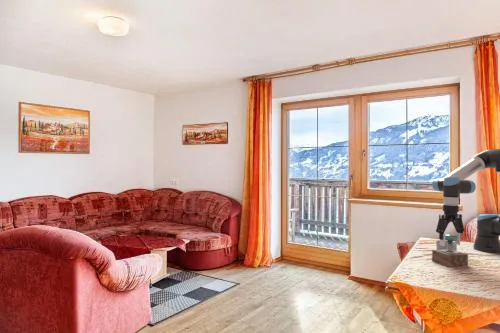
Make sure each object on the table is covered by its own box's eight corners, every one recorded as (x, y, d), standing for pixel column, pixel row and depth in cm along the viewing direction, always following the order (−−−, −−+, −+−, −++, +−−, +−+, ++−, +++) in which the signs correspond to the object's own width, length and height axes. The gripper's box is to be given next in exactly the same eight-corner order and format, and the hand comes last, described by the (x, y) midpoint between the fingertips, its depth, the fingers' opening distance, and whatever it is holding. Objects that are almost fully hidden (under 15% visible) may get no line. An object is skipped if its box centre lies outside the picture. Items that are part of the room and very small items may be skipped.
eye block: (448, 259, 195) (448, 248, 195) (467, 265, 183) (468, 253, 183) (432, 260, 191) (432, 249, 191) (450, 267, 180) (450, 255, 180)
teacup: (459, 258, 198) (459, 244, 197) (439, 256, 200) (439, 243, 200) (450, 252, 211) (450, 239, 211) (431, 251, 213) (431, 238, 213)
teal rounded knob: (449, 260, 192) (449, 233, 191) (460, 264, 185) (460, 236, 185) (439, 261, 190) (439, 234, 189) (450, 265, 183) (450, 236, 183)
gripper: (460, 203, 194) (459, 242, 194) (428, 204, 187) (428, 244, 187) (472, 205, 187) (471, 245, 187) (440, 205, 180) (439, 247, 180)
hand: (449, 245), depth 187 cm, fingers open, 10 cm apart
